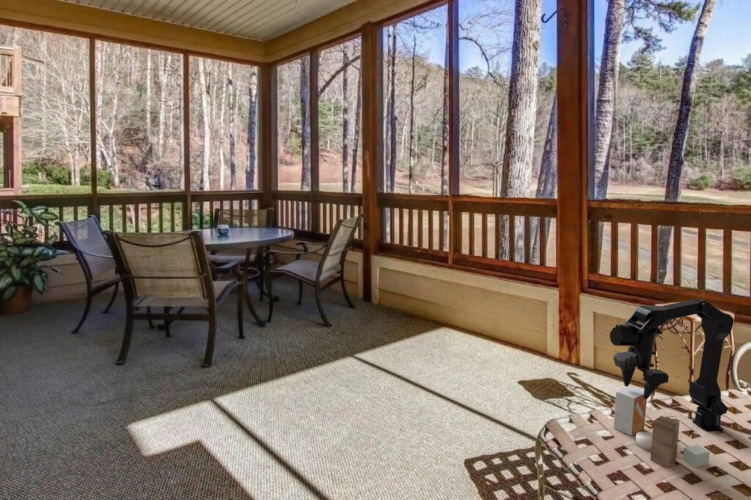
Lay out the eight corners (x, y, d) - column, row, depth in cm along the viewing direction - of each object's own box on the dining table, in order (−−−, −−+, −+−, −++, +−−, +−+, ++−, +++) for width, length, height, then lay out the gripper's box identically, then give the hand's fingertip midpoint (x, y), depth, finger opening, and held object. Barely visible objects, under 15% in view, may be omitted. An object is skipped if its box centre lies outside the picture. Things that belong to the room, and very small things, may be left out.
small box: (631, 436, 158) (634, 398, 156) (612, 428, 163) (615, 391, 161) (645, 429, 162) (648, 392, 160) (626, 421, 167) (629, 385, 165)
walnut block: (658, 454, 147) (661, 415, 146) (676, 461, 144) (679, 422, 142) (650, 460, 145) (653, 420, 143) (668, 468, 141) (671, 427, 139)
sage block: (696, 457, 146) (697, 444, 145) (708, 464, 142) (709, 452, 142) (682, 459, 145) (683, 447, 144) (694, 467, 141) (695, 454, 140)
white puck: (649, 439, 156) (649, 431, 155) (661, 450, 150) (662, 441, 149) (631, 440, 155) (632, 432, 155) (643, 451, 149) (643, 442, 149)
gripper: (602, 335, 163) (595, 380, 165) (640, 356, 145) (632, 405, 147) (632, 336, 165) (625, 380, 167) (673, 356, 146) (665, 405, 149)
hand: (635, 392), depth 157 cm, fingers open, 9 cm apart
